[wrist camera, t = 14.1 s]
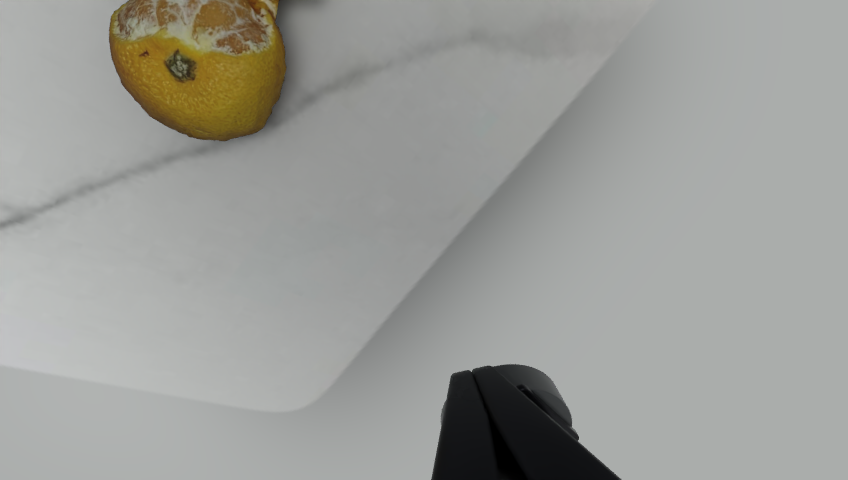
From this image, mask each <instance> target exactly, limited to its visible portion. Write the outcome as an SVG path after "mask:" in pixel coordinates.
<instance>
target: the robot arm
mask: <svg viewBox="0 0 848 480" xmlns="http://www.w3.org/2000/svg"><path fill="white" fill-rule="evenodd" d="M578 440H579V436H578V434H577V433H576V431H575V430H574V429H573V428H572V427H571V426H570V425H569V424H568V423H567V422H566V421H565V420H564V419H563V418H561V417H560V416H559V415H558V414H557V413H556V412H555V411H554V410H553V409H552V408H551V407H550V406H548V405H547V404H546V403H545V402H544V401H543V400H542V399H541V398H540V397H539V396H538V395H537V394H535V393H534V392H533V391H532V390H531V389H530V388H529V387H528V386H526V385H524V384H521V385H518V386H516V387H515V386H514V385H513V384H512V383H511V382H509V381H508V380H507V379H506V378H505V377H504V376H503V375H501V374H500V373H499V372H498V371H497V370H496V369H495V368H493V367H492V366H484V367H480V368H475V369H473V370H472V372H471V371H469V370H467V371H462V372H457V373H454V374H452V376H451V379H450V384H449V389H448V394H447V400H446V405H445V410H444V416H443V421H442V426H441V431H440V437H439V442H438V447H437V453H436V458H435V463H434V469H433V474H432V479H431V480H621V479H620V478H619V477H618V476H617V475H616V474H614V473H613V472H612V471H611V470H610V469H609V468H608V467H606V466H605V465H604V464H603V463H602V462H601V461H600V460H598V459H597V458H596V457H595V456H594V455H592V453H590V452H589V451H588V450H587V449H586V448H585V447H584V446H583V445H581V444H580V443H579V442H578Z"/></svg>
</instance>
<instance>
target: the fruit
mask: <svg viewBox="0 0 848 480" xmlns="http://www.w3.org/2000/svg"><path fill="white" fill-rule="evenodd" d="M278 2H279V0H129V1H128V2H127V3H126V4H123V5H122V6H121V7H120V8H119V9H118V10H116V11H114V13H113V15H112V16H111V22H110V29H109V42H110V50H111V56H112V60H113V63H114V65H115V68H116V71H117V73H118V75H119V77H120V79H121V83H122V85H123V86H124V87H125V89H126V90H127V91H128V92H129V93H130V94H131V95H132V97H133V98H134V99H135V101H136V102H138V103H139V104H140V105H141V107H142V108H143V109H144V110H145V111H146V112H147V113H148V115H149V116H150V117H152V118H153V119H155V120H157V121H159V122H160V123H162V124H164V125H166V126H167V127H169V128H171V129H174V130H176V131H178V132H180V133H182V134H186V135H188V136H189V137H193V138H197V139H202V140H219V141H227V140H230V139H233V138H238V137H241V136H246V135H250V134H253V133H256V132H258V131H259V130H261V129H262V128H263V127H264V126H265V124H266V122H267V119H268V117H269V116H270V114H271V113H272V107H273V105H274V104H275V103H276V102H277V101H278V100H279V97H280V92H281V88H282V84H283V82H284V78H285V77H284V75H285V72H286V64H285V49H284V48H285V47H284V45H283V39H282V35H281V33H280V31H279V28H278V26H277V25H276V23H275V20H276V15H277V8H278Z"/></svg>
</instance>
